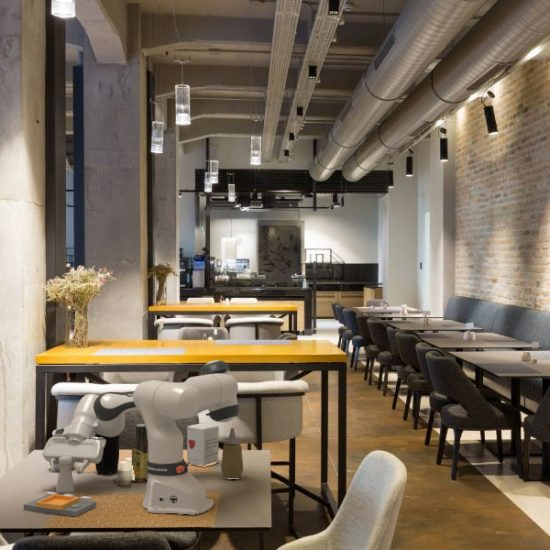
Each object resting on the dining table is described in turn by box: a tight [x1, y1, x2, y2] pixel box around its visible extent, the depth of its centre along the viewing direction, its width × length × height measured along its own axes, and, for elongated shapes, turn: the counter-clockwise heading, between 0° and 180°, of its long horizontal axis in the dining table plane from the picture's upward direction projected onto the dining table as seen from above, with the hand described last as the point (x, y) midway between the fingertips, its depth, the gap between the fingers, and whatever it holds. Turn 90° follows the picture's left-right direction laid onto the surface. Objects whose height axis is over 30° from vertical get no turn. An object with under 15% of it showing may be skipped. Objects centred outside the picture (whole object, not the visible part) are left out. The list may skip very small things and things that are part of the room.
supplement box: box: [186, 422, 220, 466], centre depth 295 cm, size 9×9×15 cm
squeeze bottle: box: [220, 427, 244, 478], centre depth 274 cm, size 8×8×18 cm
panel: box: [23, 491, 97, 518], centre depth 237 cm, size 19×11×3 cm, turn 70°
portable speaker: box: [94, 433, 120, 476], centre depth 281 cm, size 9×9×20 cm
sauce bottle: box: [131, 423, 148, 483], centre depth 270 cm, size 7×6×20 cm
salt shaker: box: [55, 456, 75, 495], centre depth 250 cm, size 6×6×13 cm
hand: (66, 472), depth 252 cm, fingers open, 8 cm apart
